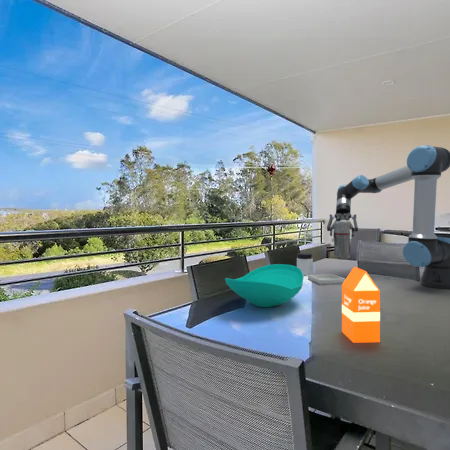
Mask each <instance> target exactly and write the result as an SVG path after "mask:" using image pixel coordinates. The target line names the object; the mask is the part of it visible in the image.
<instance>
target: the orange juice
mask: <svg viewBox="0 0 450 450" xmlns="http://www.w3.org/2000/svg"><path fill="white" fill-rule="evenodd" d="M380 298H381V291H380V289H379V288H378V286H377V284H375V282H374V281H373V279H372V278H371V277H370V275H369V273H368V272H367V271H366V270H364V269H361V268H359V267H357V266H353V268H352V269H351V270H350V272H349V273H348V275H347V277H346V278H345V281H344V282H343V284H341V332H342V334H343V335H345V336H346V338H348V339H349V340H350V341H351V342H352V343H354V344H355V343H380V342H381V337H380V336H381V331H380V330H381V299H380Z"/></svg>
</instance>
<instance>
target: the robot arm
mask: <svg viewBox="0 0 450 450" xmlns="http://www.w3.org/2000/svg"><path fill="white" fill-rule="evenodd" d="M448 169H450V150H449V149H447V148H445V147H442V146H441V147H439V146H434V145H433V146H432V145H429V144H428V145H419V146H416V147H415V148H413V149H412V150H411V151H410V152H409V153H408V155H407V158H406V165H405V166H403V167H400V168H397V169H395V170H392V171H390V172H386V173H385V174H381V175H379V176H376V177H374V178H371V179H369V178H368V177H366V176H365V175H363V174H359V175H357V176H356V177H353V179H352V180H351V181H349V183H348V184H343V185H339V187H338V188H337V192H336V208H335V213H334V214H329V220H328V223H327V226H326V231H327V232H329V236H330V237H331V242H332V243H334V224H335V222H337V221H340V220H350V219H352V220H353V224H352V222H351V221H350V243H352V238H353V237H355V232H358V231H359V227H358V223H357V214H353V215H352V214H351V205H352V199H353V198H355V196H356V195H358V194H361V193H362V194H378V193H381V192H382V191H383V190H385V189H388V188H392V187H394V186H397V185H400V184H403V183H406V182H410V181H413V180H414V188H413V189H414V194H413V212H412V213H413V215H412V216H413V217H412V231H411V233H410V234H409V235H408V240H407V243H406V244H404V246H403V249H402V256H403V258H404V260H405V261H406V262H407V264H410V265H411V266H412V267H416V268H417V267H420V268H424V270H423V272H422V275H421V277H420V281H419V282H420V285H421V286H425V287H429V288H435V289H450V237H443V236H437V235H436V234H435V224H436V223H435V221H436V202H437V200H436V199H437V187H438V185H437V183H438V180H439V179H440V178H441V177H442V173H443V172H444V173H445V172H446V171H447V170H448ZM334 219H335V221H334V222H333V220H334ZM332 223H333V224H332Z"/></svg>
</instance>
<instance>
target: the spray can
mask: <svg viewBox="0 0 450 450" xmlns="http://www.w3.org/2000/svg"><path fill="white" fill-rule="evenodd" d="M334 222H335V221H334ZM350 222H351V221H350V219H349V220H340V221H337V222H335V224H334V242H333V253H334V256H333V257H334V259H338V260H349V259H351V242H350Z"/></svg>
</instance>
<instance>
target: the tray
mask: <svg viewBox="0 0 450 450" xmlns="http://www.w3.org/2000/svg"><path fill="white" fill-rule="evenodd" d="M307 278H308V279H307V280H308V281H311V282H312V283H315V284H316V285H319V286H324V285H325V286H327V285H342V284H343V282H344V281H345V279H346V278H345V277H343V276H339V275H337V274H334V273H323V274H320V273H319V274H313V275H308V276H307Z"/></svg>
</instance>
